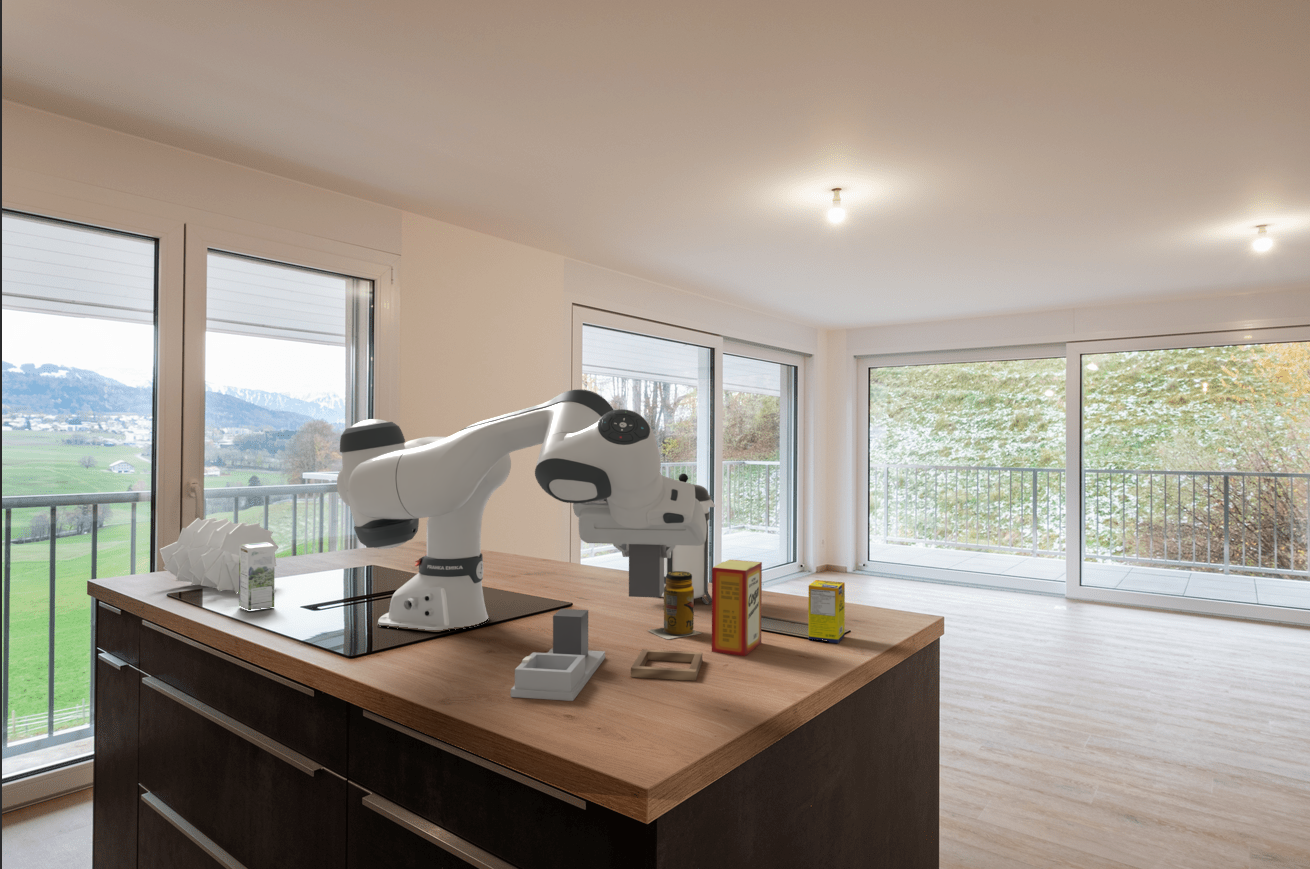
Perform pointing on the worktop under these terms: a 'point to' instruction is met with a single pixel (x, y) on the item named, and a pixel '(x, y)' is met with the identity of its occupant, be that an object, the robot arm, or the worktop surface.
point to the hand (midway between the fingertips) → (647, 554)
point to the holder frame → (667, 673)
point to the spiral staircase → (212, 552)
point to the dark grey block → (646, 571)
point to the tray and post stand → (559, 661)
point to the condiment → (678, 606)
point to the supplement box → (826, 611)
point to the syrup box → (256, 575)
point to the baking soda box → (736, 607)
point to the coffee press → (693, 551)
